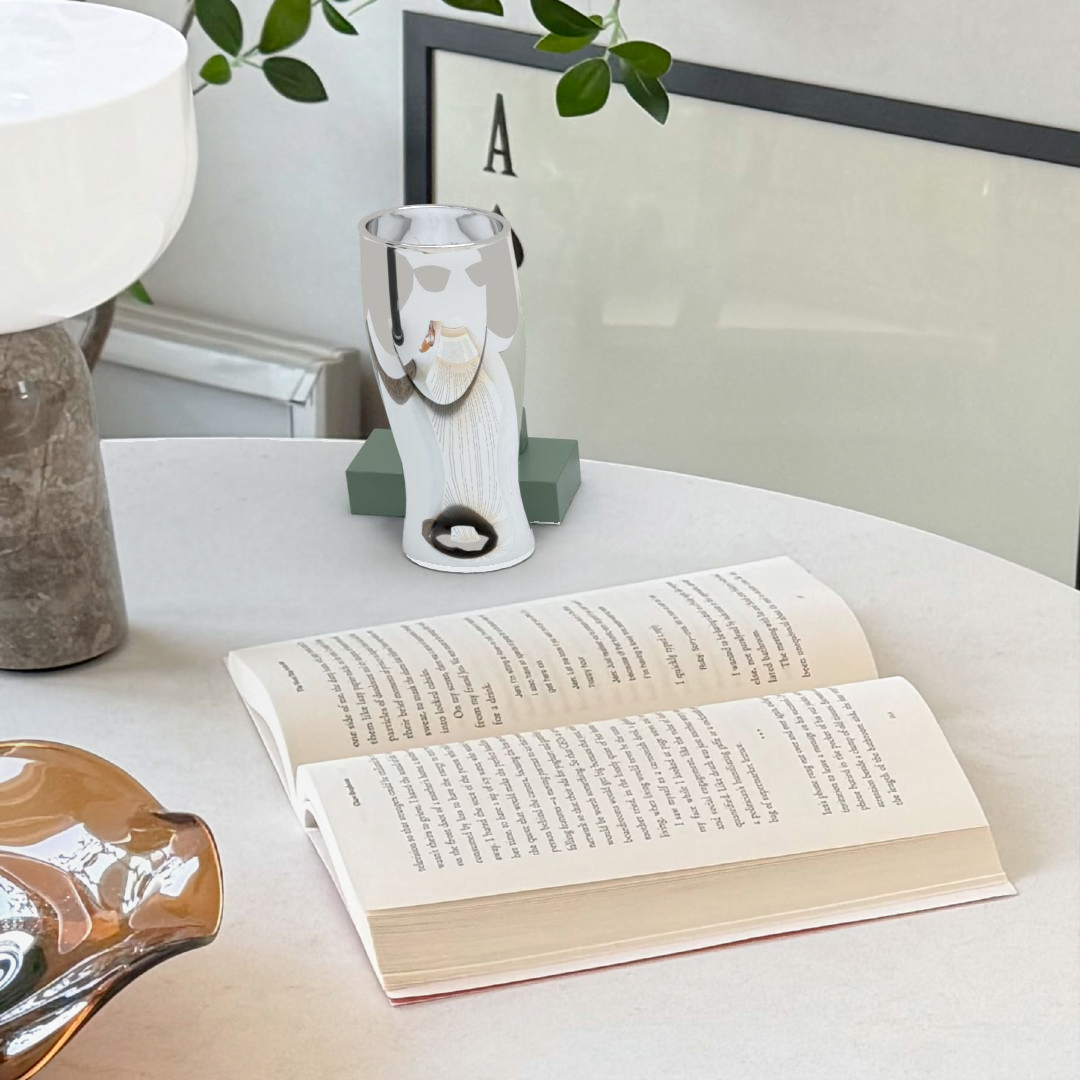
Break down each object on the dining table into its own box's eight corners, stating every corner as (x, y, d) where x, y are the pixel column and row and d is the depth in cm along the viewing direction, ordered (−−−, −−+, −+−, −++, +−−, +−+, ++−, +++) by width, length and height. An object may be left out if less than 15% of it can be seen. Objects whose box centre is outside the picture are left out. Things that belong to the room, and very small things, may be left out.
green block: (350, 514, 134) (339, 433, 132) (384, 463, 140) (374, 384, 138) (560, 526, 135) (553, 445, 133) (585, 474, 141) (578, 396, 138)
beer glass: (409, 585, 128) (368, 251, 119) (380, 530, 133) (339, 206, 124) (560, 569, 131) (531, 242, 122) (526, 516, 136) (496, 198, 127)
